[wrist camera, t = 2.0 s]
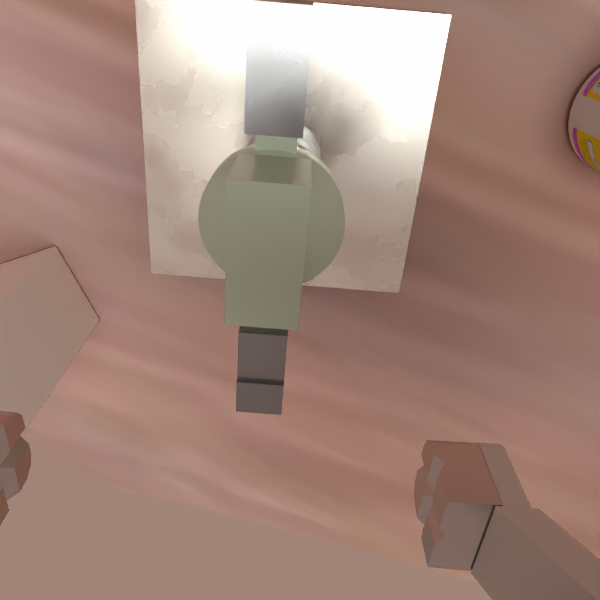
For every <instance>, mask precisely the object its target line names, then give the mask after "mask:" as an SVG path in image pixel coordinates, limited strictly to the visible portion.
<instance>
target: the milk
mask: <svg viewBox="0 0 600 600" xmlns="http://www.w3.org/2000/svg"><path fill="white" fill-rule="evenodd" d="M98 321H99V318H98V316H97V314H96V313H95V311H94V309H93V308H92V306H91V304H90V303H89V301H88V299H87V298H86V296H85V294H84V293H83V291H82V289H81V287H80V286H79V284H78V282H77V281H76V279H75V277H74V276H73V274H72V272H71V271H70V269H69V267H68V266H67V264H66V262H65V261H64V259H63V257H62V255H61V254H60V252H59V250H58V249H57V247H56V246H54V247H51V248H48V249H45V250H42V251H39V252H36V253H33V254H30V255H27V256H23V257H20V258H17V259H14V260H11V261H8V262H5V263H2V264H0V411H9V412H17V413H19V414H21V415H22V417H23V420H24V424H25V429H24V431H23V432H22V434H21V435H20V436H21V437H22V436H23V434H24V433H25V431H26V430H27V428H28V427H29V425H30V424H31V422H32V421H33V419H34V418H35V416H36V415H37V413H38V412H39V410H40V409H41V407H42V406H43V404H44V403H45V401H46V400H47V398H48V397H49V395H50V394H51V392H52V391H53V389H54V388H55V386H56V385H57V383H58V382H59V380H60V379H61V377H62V376H63V374H64V373H65V371H66V370H67V368H68V367H69V365H70V364H71V362H72V361H73V359H74V358H75V356H76V355H77V353H78V352H79V350H80V349H81V347H82V346H83V344H84V343H85V341H86V340H87V338H88V337H89V335H90V334H91V332H92V331H93V329H94V328H95V326H96V325H97V323H98Z"/></svg>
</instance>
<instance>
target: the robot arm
mask: <svg viewBox="0 0 600 600" xmlns="http://www.w3.org/2000/svg"><path fill="white" fill-rule="evenodd" d="M24 429H25V424H24V420H23V417H22V415H21V414H19V413H17V412H9V411H0V525H1V523H2V522H3V520H4V518H5V516H6V515H7V513H8V511H9V508H8V504H7V500H8V499H10V498H11V497H13V496H14V495H16V494H17V493H19V492H20V490H21V489H22V487H23V485H24V484H25V482H26V480H27V477H28V473H29V469H30V465H31V451H30V446H29V444H28V443H27V442H26V441H25V440H24V439H23V438H22V437H21V436H20V435H21V434H22V432H23V431H24ZM422 458H423V463H424V466H422V467H421V468H420V469H419V470H417V475H416V480H415V490H414V499H415V508H416V514H417V518H418V519H419V520H420V521H421V522H422V523H423V524H424V528H423V532H422V536H421V538H422V542H423V547H424V552H425V556H426V561H427V565H428V567H434V568H445V569H456V570H467V571H472V572H471V574H472V575H473V576H474V577H475V579H476V580H477V581H478V582H479V584H480V585H481V586H482V587H483V589H484V590H485V591H486V592H487V594H488V595H489V596H490V597H491V599H492V600H600V559H599V558H597V557H596V556H595V555H594V554H593V553H591V552H590V551H589V550H588V549H587V548H585V547H584V546H583V545H582V544H581V543H579V542H578V541H577V540H576V539H574V538H573V537H572V536H571V535H570V534H568V533H567V532H566V531H565V530H564V529H562V528H561V527H560V526H559V525H558V524H556V523H555V522H554V521H553V520H552V519H550V518H549V517H548V516H547V515H546V514H544V513H543V512H542V511H541V510H539V509H533V508H531V506H530V504H529V502H528V500H527V497H526V495H525V493H524V491H523V488H522V486H521V484H520V482H519V479H518V477H517V475H516V473H515V470H514V468H513V466H512V464H511V461H510V459H509V457H508V455H507V452H506V450H505V448H504V447H503V446H502V445H501V444H490V443H467V442H450V441H434V440H427V441H426V443H425V444H424V447H423V451H422Z"/></svg>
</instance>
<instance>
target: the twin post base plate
mask: <svg viewBox="0 0 600 600" xmlns="http://www.w3.org/2000/svg"><path fill="white" fill-rule="evenodd" d="M135 9H136V26H137V43H138V59H139V76H140V93H141V109H142V126H143V143H144V159H145V176H146V193H147V210H148V226H149V243H150V260H151V273H152V274H165V275H178V276H190V277H203V278H216V279H225V272H224V271H223V270H222V269H221V268H220V267H219V266H218V265H217V264H216V263H215V262H214V261H213V259H212V258H211V256H210V255H209V253H208V252H207V250H206V248H205V246H204V244H203V241H202V238H201V235H200V230H199V223H198V212H199V205H200V200H201V197H202V195H203V192H204V190H205V188H206V186H207V184H208V182H209V180H210V179H211V177H212V175H213V173H214V172H215V171H216V169H217V168H218V166H219V165H220V164H221V163H222V162H223V161H224V160H225V159H226V158H227V157H229V156H230V155H231V154H232V153H234V152H236V151H237V150H239V149H241V148H243V147H246V146H248V145H251V144H255V138H256V135H265V136H277V137H289V138H298V143H297V146H298V147H301V148H303V149H305V150H307V151H309V152H310V153H312V154H314V155H315V156H316V157H317V158H319V159H320V160H321V161H322V162H323V163H324V164H325V165H326V166H327V167H328V168H329V170H330V171H331V173H332V174H333V176H334V177H335V179H336V181H337V183H338V186H339V188H340V191H341V195H342V200H343V206H344V214H345V231H344V236H343V240H342V243H341V246H340V248H339V250H338V252H337V254H336V256H335V258H334V259H333V260H332V262H331V263H330V264H329V265H328V267H327V268H326V269H325V270H324V271H322V272H321V273H320V274H319V275H318V276H316V277H314V278H313V279H311V280H309V281H307V282H305V283H303V285H305V286H317V287H330V288H343V289H355V290H368V291H381V292H393V293H399V291H400V286H401V281H402V275H403V270H404V265H405V259H406V254H407V249H408V243H409V238H410V233H411V227H412V222H413V217H414V211H415V206H416V201H417V195H418V190H419V185H420V179H421V174H422V169H423V163H424V158H425V153H426V147H427V142H428V137H429V131H430V126H431V121H432V115H433V110H434V105H435V99H436V94H437V89H438V83H439V78H440V73H441V67H442V62H443V57H444V52H445V46H446V41H447V36H448V30H449V25H450V20H451V15H448V14H437V13H426V12H415V11H403V10H392V9H381V8H369V7H358V6H347V5H335V4H324V3H313V2H302V1H290V0H135ZM287 334H288V330H286V329H273V328H261V327H248V326H240V329H239V339H238V376H237V394H236V411H239V412H252V413H265V414H279V415H281V410H282V398H283V385H284V372H285V360H286V347H287Z"/></svg>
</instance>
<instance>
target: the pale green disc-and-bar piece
mask: <svg viewBox="0 0 600 600" xmlns="http://www.w3.org/2000/svg"><path fill="white" fill-rule="evenodd" d="M297 143H298V138H289V137H277V136H265V135H256V138H255V144H251V145H248V146H246V147H243V148H241V149H239V150H237V151H236V152H234V153H232V154H231V155H230V156H229V157H227V158H226V159H225V160H224V161H223V162H222V163H221V164H220V165H219V166H218V168H217V169H216V171H215V172H214V173H213V175H212V177H211V179H210V180H209V182H208V184H207V186H206V188H205V190H204V192H203V195H202V197H201V200H200V205H199V212H198V223H199V230H200V235H201V238H202V241H203V244H204V246H205V248H206V250H207V252H208V253H209V255H210V256H211V258H212V259H213V261H214V262H215V263H216V264H217V265H218V266H219V267H220V268H221V269H222V270H223V271H224V272H225V316H224V325H235V326H248V327H261V328H273V329H286V330H299V319H300V308H301V296H302V285H303V283H305V282H307V281H309V280H311V279H313V278H314V277H316V276H318V275H319V274H320V273H321V272H322V271H324V270H325V269H326V268H327V267H328V265H329V264H330V263H331V262H332V260H333V259H334V258H335V256H336V254H337V252H338V250H339V248H340V246H341V243H342V240H343V236H344V231H345V214H344V206H343V200H342V195H341V191H340V188H339V186H338V183H337V181H336V179H335V177H334V176H333V174H332V173H331V171H330V170H329V168H328V167H327V166H326V165H325V164H324V163H323V162H322V161H321V160H320V159H319V158H317V157H316V156H315V155H314V154H312V153H310V152H309V151H307V150H305V149H303V148H301V147H298V146H297Z"/></svg>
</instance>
